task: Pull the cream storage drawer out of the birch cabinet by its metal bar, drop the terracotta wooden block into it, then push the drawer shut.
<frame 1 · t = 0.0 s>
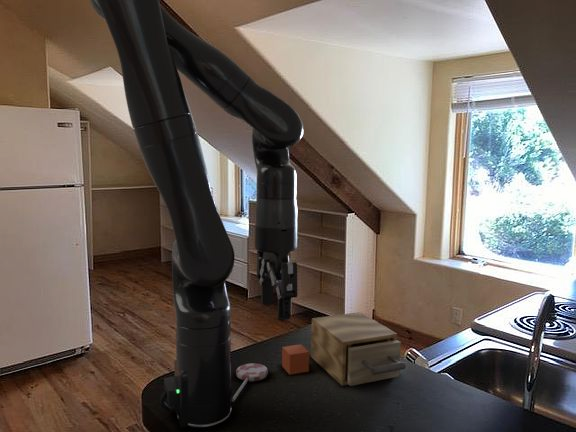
hand: (275, 311, 87), 17 cm above the counter, tool pointing down, fingers open, 8 cm apart
block: (295, 368, 102), on the counter
cabinet: (351, 365, 104), on the counter
lollipop: (245, 384, 95), on the counter
drawer: (364, 355, 99), point 5 cm above the counter, slide at 1.0 cm
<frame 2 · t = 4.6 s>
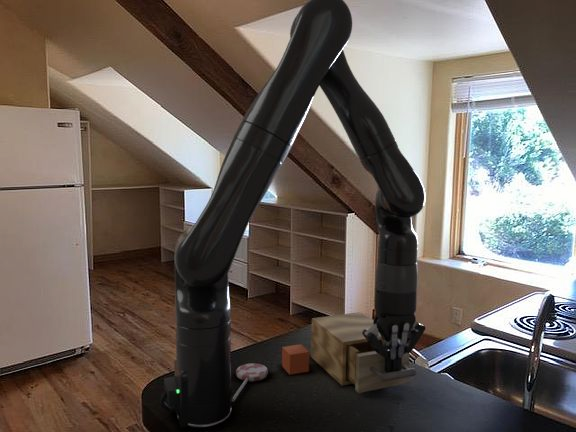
hand: (392, 375, 90), 5 cm above the counter, tool pointing down, fingers closed
drawer: (372, 361, 96), point 5 cm above the counter, slide at 4.0 cm, touching gripper
everything else where it was.
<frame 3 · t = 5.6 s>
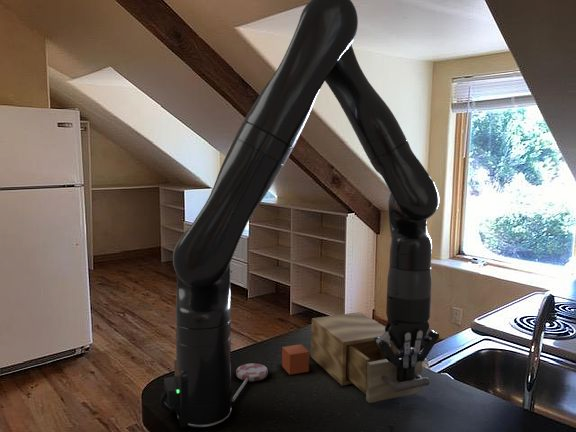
hand: (404, 384, 86), 5 cm above the counter, tool pointing down, fingers closed
drawer: (383, 369, 92), point 5 cm above the counter, slide at 7.9 cm, touching gripper
everything else where it was.
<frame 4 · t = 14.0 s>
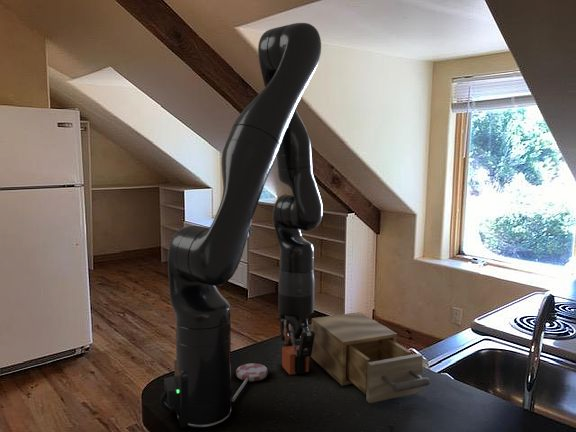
hand: (295, 367, 102), 0 cm above the counter, tool pointing down, fingers closed on block, 4 cm apart
block: (295, 368, 102), on the counter, touching gripper
drawer: (383, 369, 92), point 5 cm above the counter, slide at 8.0 cm
everything else where it was.
when the fingers open (10 cm above the counter, at t = 30.8 s): block drops 8 cm, resting on drawer.
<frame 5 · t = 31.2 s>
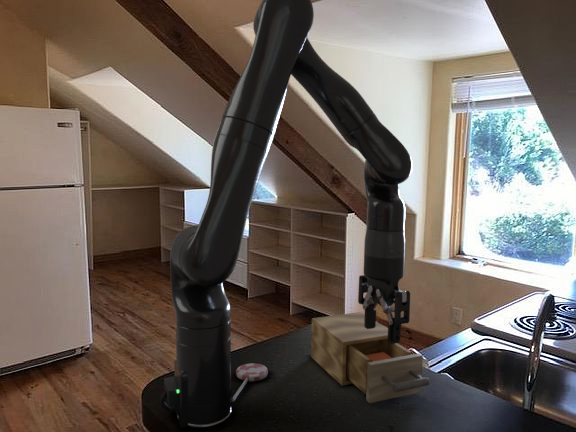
hand: (381, 335, 92), 11 cm above the counter, tool pointing down, fingers open, 7 cm apart
block: (379, 379, 94), point 2 cm above the counter, touching drawer
drawer: (383, 369, 92), point 5 cm above the counter, slide at 8.0 cm, touching block
everything else where it was.
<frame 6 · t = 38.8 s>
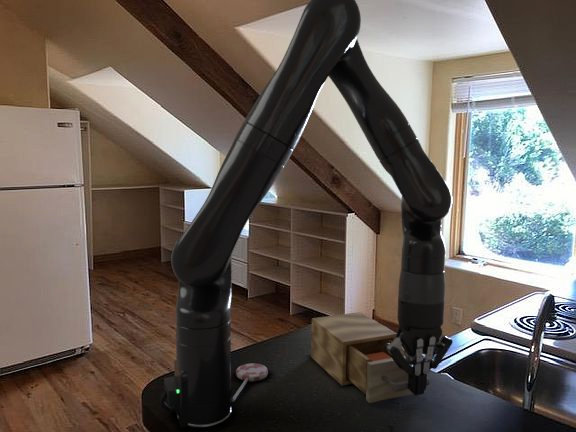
hand: (416, 392, 83), 5 cm above the counter, tool pointing down, fingers closed
drawer: (383, 369, 92), point 5 cm above the counter, slide at 7.9 cm, touching block, gripper
everything else where it was.
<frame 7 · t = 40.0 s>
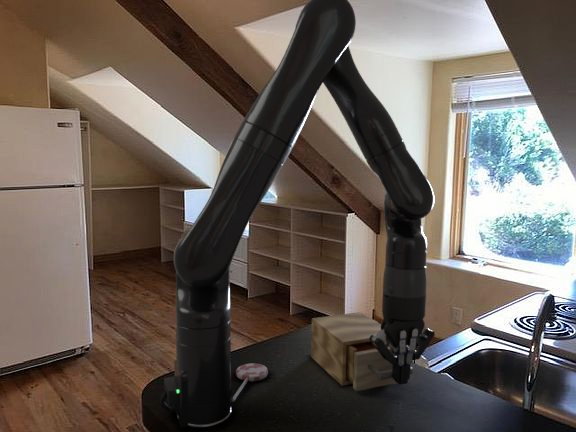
hand: (400, 382, 87), 4 cm above the counter, tool pointing down, fingers closed
block: (366, 369, 98), point 2 cm above the counter, touching drawer
drawer: (370, 359, 96), point 5 cm above the counter, slide at 3.2 cm, touching block, gripper
everything else where it was.
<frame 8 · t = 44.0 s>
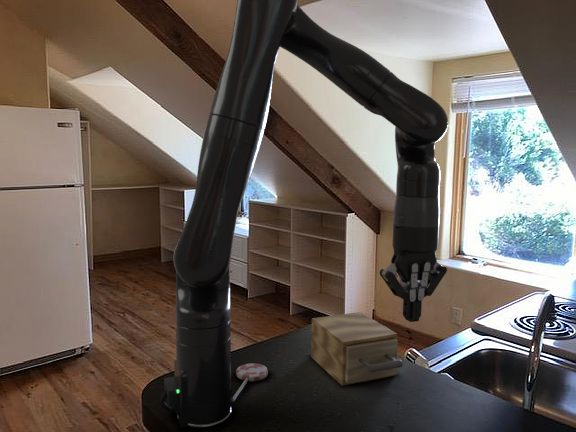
hand: (411, 320, 83), 17 cm above the counter, tool pointing down, fingers closed
block: (358, 362, 101), point 2 cm above the counter, touching drawer
drawer: (362, 353, 99), point 5 cm above the counter, slide at 0.0 cm, touching block, cabinet
everything else where it was.
at the end: drawer pulled out 8.0 cm at the most during the clip and back in by the end; block inside the target area in the cabinet (3.0 cm from its centre), point 2.0 cm above the cabinet's base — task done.
